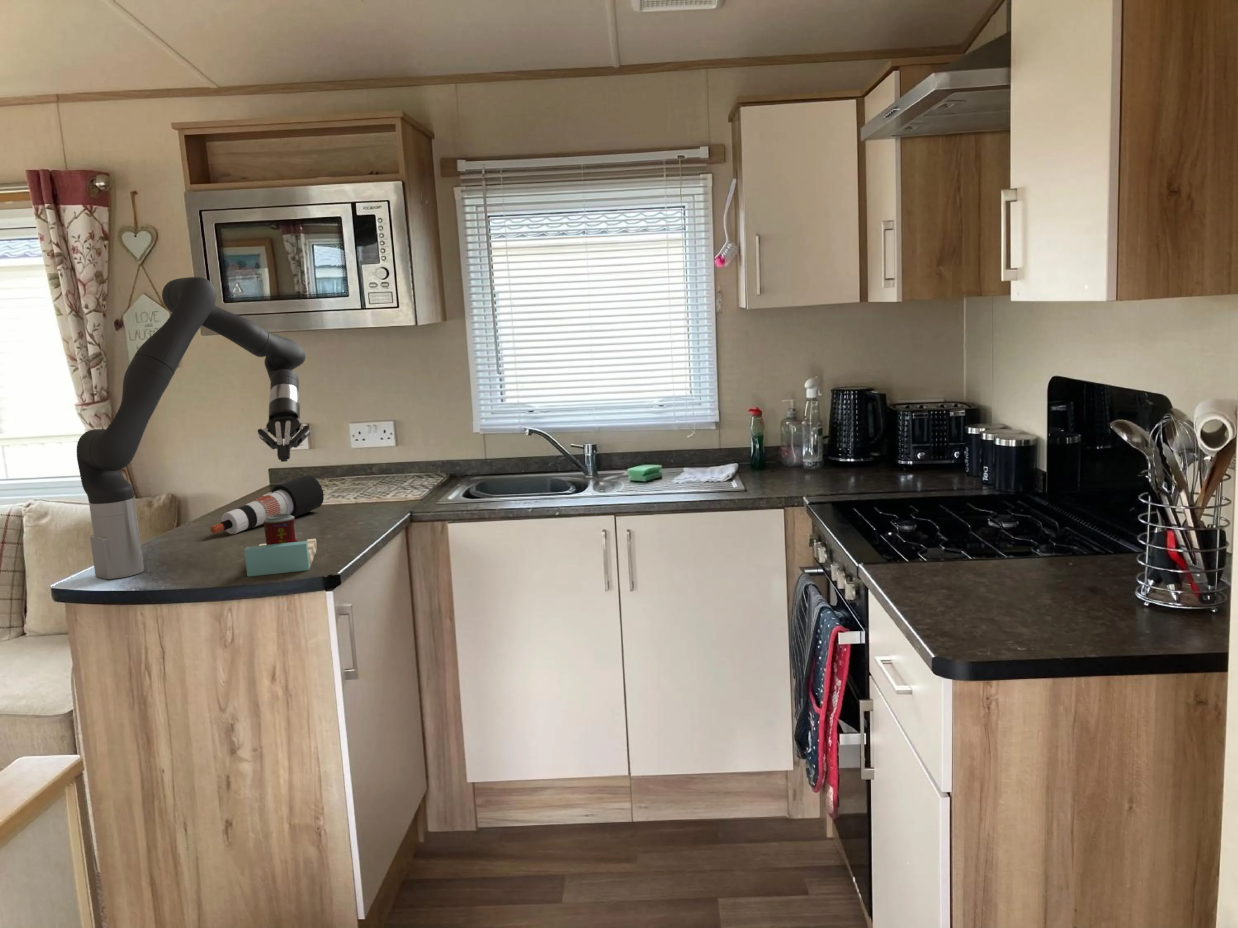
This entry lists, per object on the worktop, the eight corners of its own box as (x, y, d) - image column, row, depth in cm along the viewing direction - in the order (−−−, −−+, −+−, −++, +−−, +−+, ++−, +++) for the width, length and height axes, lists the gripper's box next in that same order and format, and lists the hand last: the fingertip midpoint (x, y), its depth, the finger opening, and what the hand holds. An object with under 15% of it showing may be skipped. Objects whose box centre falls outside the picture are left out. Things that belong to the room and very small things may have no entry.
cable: (212, 554, 261) (194, 520, 261) (309, 513, 289) (292, 483, 289) (232, 539, 255) (212, 505, 255) (329, 500, 283) (311, 469, 283)
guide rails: (260, 554, 237) (259, 544, 237) (316, 548, 240) (315, 538, 240) (248, 574, 219) (247, 563, 219) (309, 567, 222) (308, 557, 221)
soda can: (294, 560, 230) (288, 511, 228) (304, 565, 224) (298, 515, 222) (265, 566, 226) (259, 516, 224) (274, 571, 220) (268, 520, 218)
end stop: (249, 573, 220) (246, 546, 219) (310, 566, 223) (307, 540, 222) (247, 576, 217) (244, 549, 216) (308, 570, 220) (306, 543, 219)
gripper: (254, 398, 249) (252, 452, 239) (309, 394, 252) (309, 448, 242) (259, 417, 255) (258, 471, 245) (313, 413, 258) (313, 466, 248)
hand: (283, 459), depth 244 cm, fingers closed
